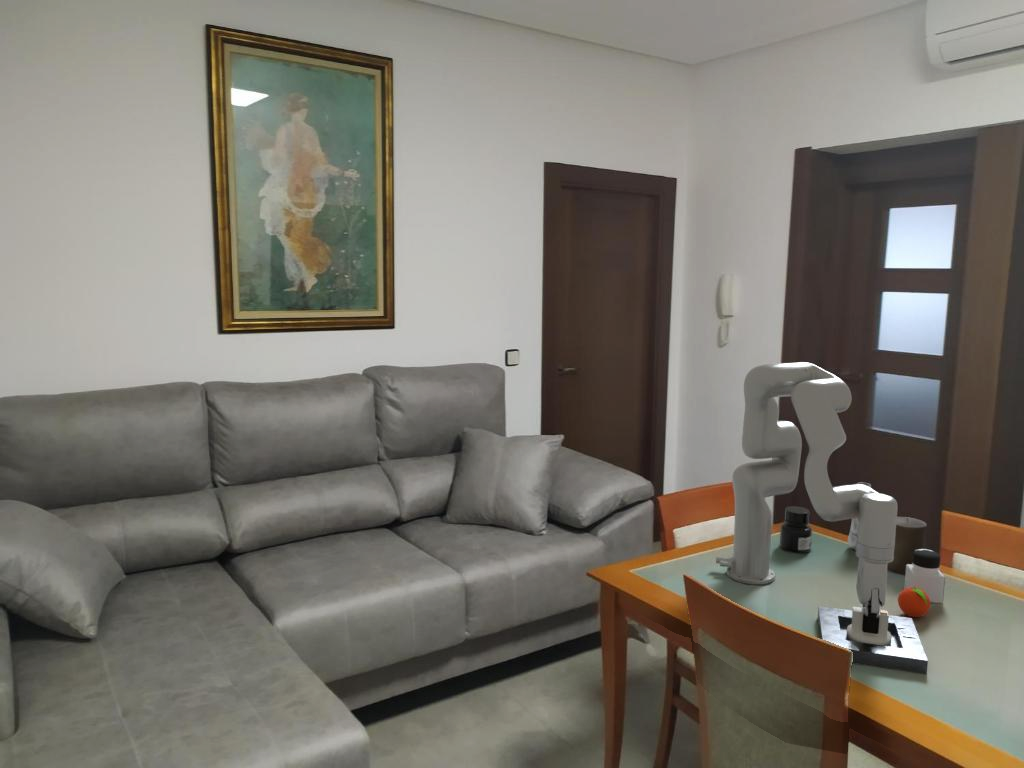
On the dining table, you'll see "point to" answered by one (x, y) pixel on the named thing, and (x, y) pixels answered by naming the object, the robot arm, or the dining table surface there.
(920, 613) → the clementine
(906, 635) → the dial plate
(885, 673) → the dining table surface
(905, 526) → the pillar candle
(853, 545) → the plastic bottle
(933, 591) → the medicine bottle
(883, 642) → the dial knob
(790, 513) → the ink bottle
